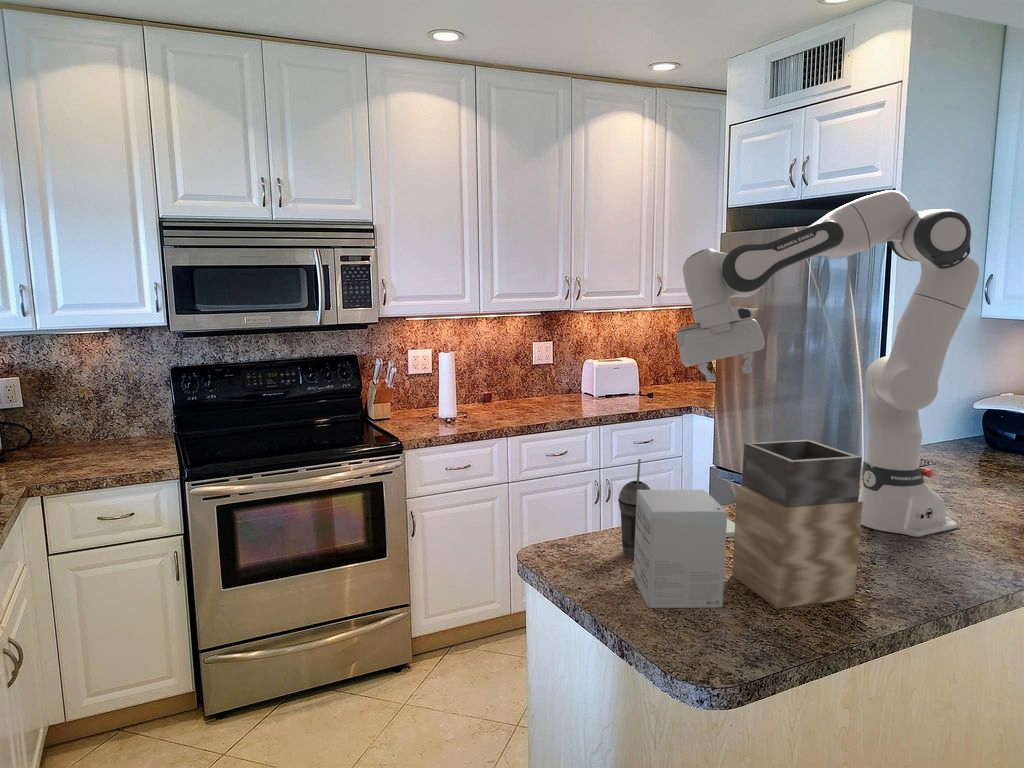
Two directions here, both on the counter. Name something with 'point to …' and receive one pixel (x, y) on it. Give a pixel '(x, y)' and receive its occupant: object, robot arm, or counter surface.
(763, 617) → the counter surface
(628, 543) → the beverage cup
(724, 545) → the supplement box
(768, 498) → the tub stand
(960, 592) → the counter surface
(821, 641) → the counter surface
